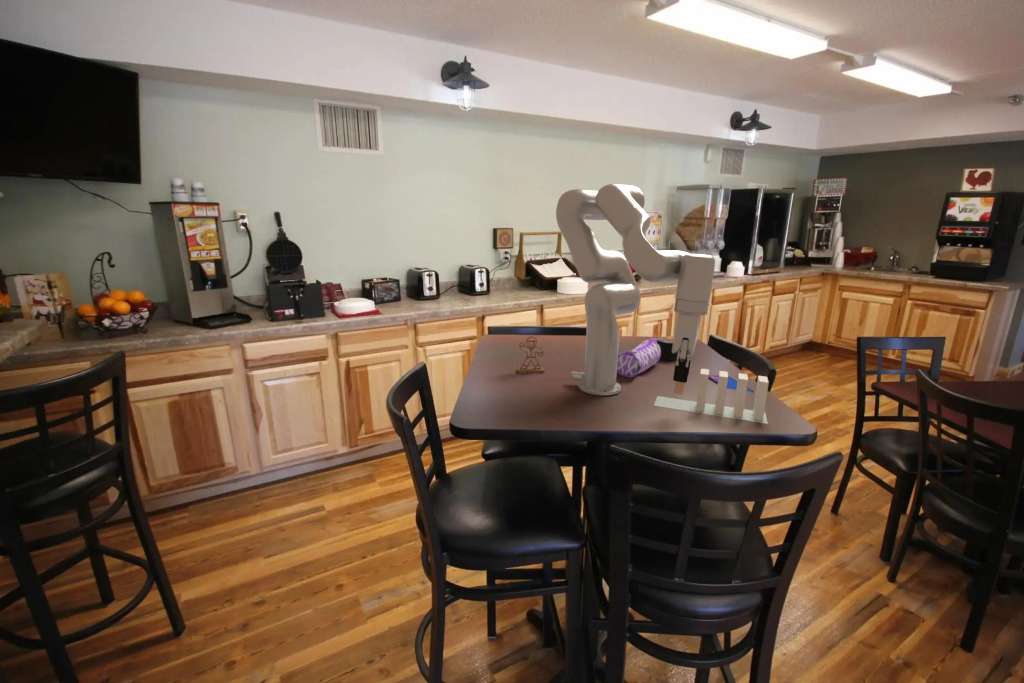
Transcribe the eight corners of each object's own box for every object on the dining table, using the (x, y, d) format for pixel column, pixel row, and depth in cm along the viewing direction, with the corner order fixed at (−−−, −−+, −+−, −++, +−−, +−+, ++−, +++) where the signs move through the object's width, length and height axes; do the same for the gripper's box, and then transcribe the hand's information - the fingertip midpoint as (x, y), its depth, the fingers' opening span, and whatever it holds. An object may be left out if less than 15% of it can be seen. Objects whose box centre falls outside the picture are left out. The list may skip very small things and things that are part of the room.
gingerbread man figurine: (543, 369, 158) (544, 335, 155) (544, 373, 154) (545, 338, 151) (517, 369, 157) (517, 335, 154) (518, 373, 154) (518, 338, 151)
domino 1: (673, 392, 115) (679, 354, 112) (675, 386, 120) (681, 349, 117) (682, 394, 114) (688, 355, 112) (684, 387, 119) (689, 350, 116)
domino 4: (733, 416, 118) (739, 378, 115) (733, 409, 122) (738, 373, 120) (742, 417, 117) (748, 379, 115) (741, 410, 121) (747, 374, 119)
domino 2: (695, 410, 121) (700, 373, 119) (696, 403, 126) (701, 368, 123) (704, 411, 121) (708, 374, 118) (704, 405, 125) (709, 369, 123)
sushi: (651, 356, 176) (653, 336, 174) (668, 354, 179) (670, 334, 177) (666, 362, 169) (668, 340, 167) (683, 359, 172) (686, 338, 170)
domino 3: (714, 413, 120) (719, 376, 117) (714, 406, 124) (719, 370, 122) (723, 414, 119) (728, 377, 116) (723, 407, 123) (727, 371, 121)
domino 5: (753, 419, 116) (759, 381, 114) (752, 412, 120) (758, 375, 118) (762, 420, 115) (768, 382, 113) (761, 413, 120) (766, 376, 117)
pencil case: (638, 381, 148) (641, 352, 146) (611, 375, 153) (613, 348, 151) (661, 365, 165) (664, 339, 163) (636, 360, 171) (638, 335, 168)
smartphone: (732, 392, 138) (706, 375, 152) (731, 395, 138) (706, 378, 152) (755, 391, 138) (727, 375, 153) (754, 394, 139) (727, 377, 153)
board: (653, 409, 124) (653, 405, 124) (657, 400, 131) (657, 396, 131) (767, 428, 114) (767, 423, 114) (764, 416, 121) (765, 412, 121)
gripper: (677, 299, 120) (668, 365, 125) (671, 310, 105) (661, 386, 110) (709, 302, 117) (698, 370, 122) (706, 314, 102) (694, 392, 107)
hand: (680, 377), depth 116 cm, fingers closed on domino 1, 4 cm apart
